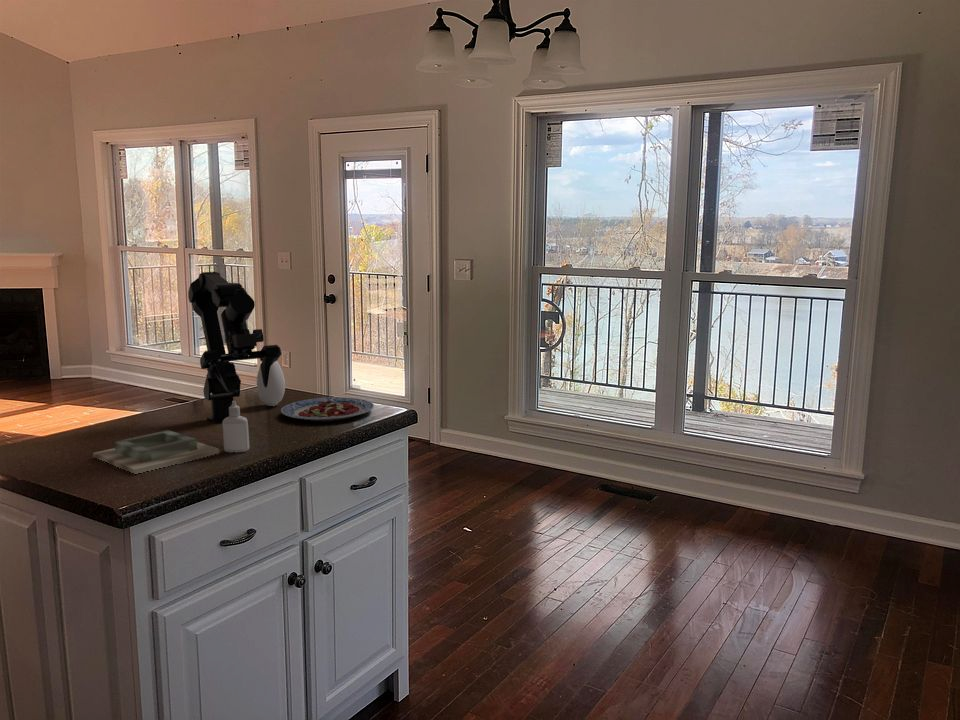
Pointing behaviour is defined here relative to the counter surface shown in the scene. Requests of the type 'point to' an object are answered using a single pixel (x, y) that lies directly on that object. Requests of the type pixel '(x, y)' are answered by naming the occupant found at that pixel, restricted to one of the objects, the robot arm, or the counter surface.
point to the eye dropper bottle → (235, 431)
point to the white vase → (271, 385)
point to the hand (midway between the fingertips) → (247, 389)
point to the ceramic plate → (327, 408)
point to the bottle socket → (155, 451)
